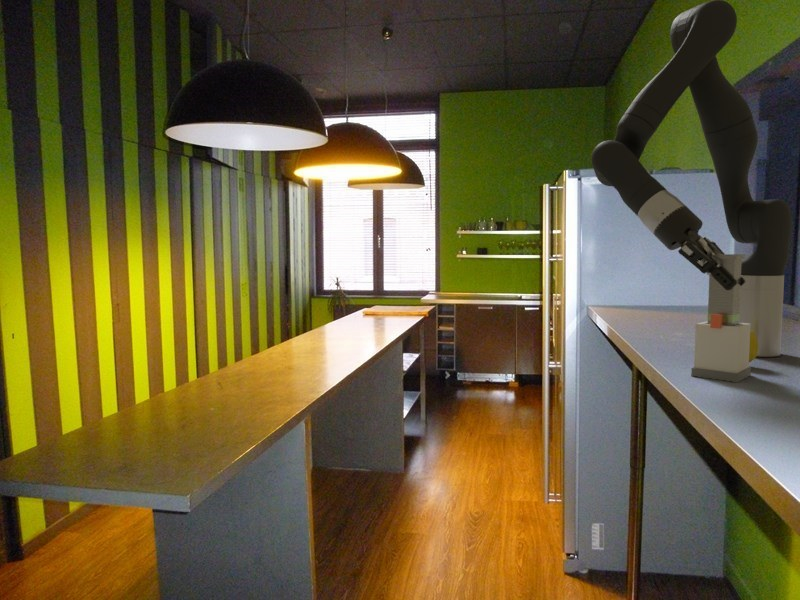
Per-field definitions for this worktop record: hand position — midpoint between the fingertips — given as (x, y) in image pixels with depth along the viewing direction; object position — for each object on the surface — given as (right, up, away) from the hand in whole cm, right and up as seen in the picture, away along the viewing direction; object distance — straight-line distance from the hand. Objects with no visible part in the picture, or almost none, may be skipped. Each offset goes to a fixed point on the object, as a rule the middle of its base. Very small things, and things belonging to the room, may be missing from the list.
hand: (736, 285), depth 106 cm
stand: (-1, -16, +3) cm, 17 cm away
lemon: (+7, -16, +11) cm, 21 cm away
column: (-1, -11, +2) cm, 11 cm away
